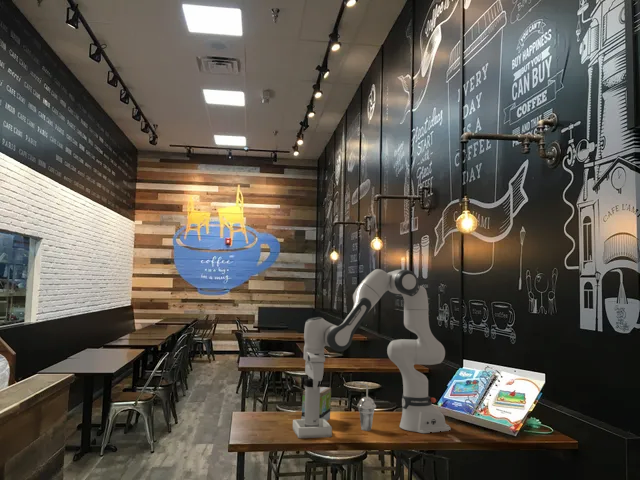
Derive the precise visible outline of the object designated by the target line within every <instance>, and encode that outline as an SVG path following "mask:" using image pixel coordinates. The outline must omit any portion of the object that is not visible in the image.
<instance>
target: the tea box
mask: <svg viewBox="0 0 640 480" xmlns="http://www.w3.org/2000/svg"><path fill="white" fill-rule="evenodd" d="M331 397H332V387H326V386H320V409H319V419H325V420H326V421H327V422H328V421H329V420H330V418H331V403H332V401H331V400H332V398H331ZM301 401H302V402H301V403H302V404H301V417H300V418H301V419H305V389H304V390H302V400H301Z"/></svg>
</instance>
